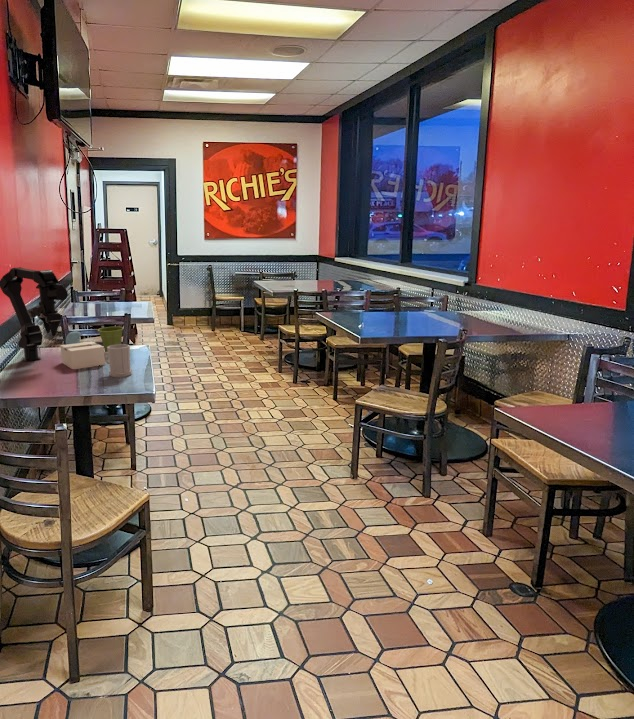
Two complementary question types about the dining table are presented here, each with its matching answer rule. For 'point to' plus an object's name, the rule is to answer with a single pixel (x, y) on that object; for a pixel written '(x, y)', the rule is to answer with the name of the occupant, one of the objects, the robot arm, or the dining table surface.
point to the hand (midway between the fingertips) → (50, 334)
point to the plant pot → (110, 336)
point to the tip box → (82, 355)
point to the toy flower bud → (73, 337)
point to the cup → (118, 360)
